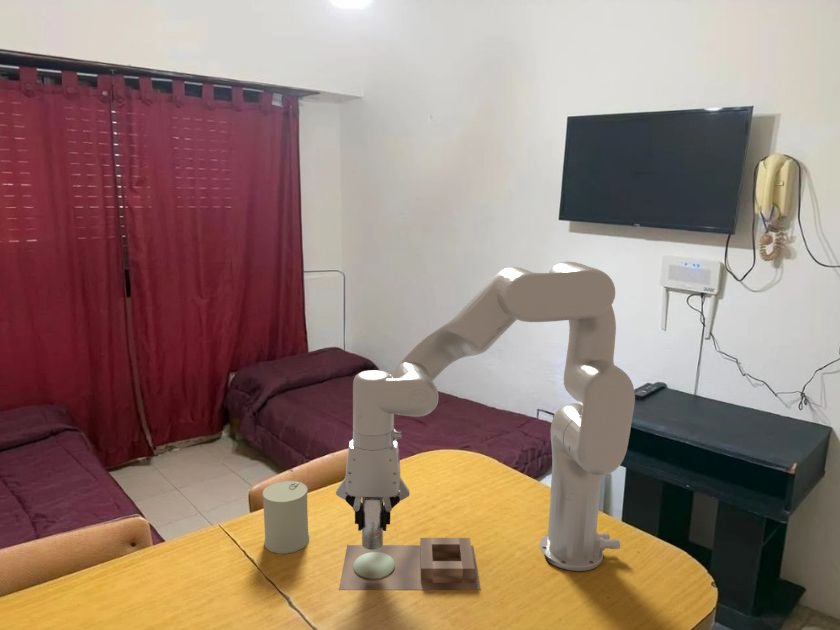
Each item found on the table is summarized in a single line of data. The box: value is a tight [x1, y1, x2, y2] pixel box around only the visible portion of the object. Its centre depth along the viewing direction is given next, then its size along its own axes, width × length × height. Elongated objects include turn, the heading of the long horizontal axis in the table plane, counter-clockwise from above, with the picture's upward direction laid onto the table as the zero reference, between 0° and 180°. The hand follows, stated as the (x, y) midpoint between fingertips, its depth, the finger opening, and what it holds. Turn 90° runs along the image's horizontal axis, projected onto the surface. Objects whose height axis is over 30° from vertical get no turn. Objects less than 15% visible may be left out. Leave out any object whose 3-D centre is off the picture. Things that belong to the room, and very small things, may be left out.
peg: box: [361, 497, 384, 550], centre depth 114 cm, size 4×4×10 cm
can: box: [261, 480, 310, 555], centre depth 125 cm, size 9×9×12 cm
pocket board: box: [338, 537, 481, 591], centre depth 116 cm, size 26×14×4 cm, turn 91°
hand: (372, 526), depth 115 cm, fingers closed on peg, 4 cm apart
